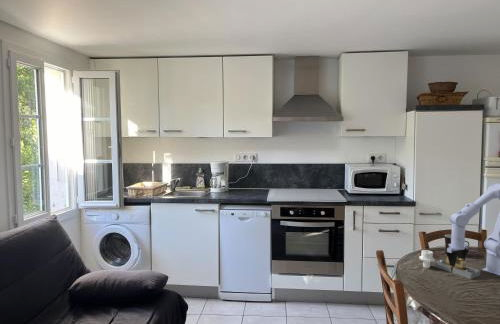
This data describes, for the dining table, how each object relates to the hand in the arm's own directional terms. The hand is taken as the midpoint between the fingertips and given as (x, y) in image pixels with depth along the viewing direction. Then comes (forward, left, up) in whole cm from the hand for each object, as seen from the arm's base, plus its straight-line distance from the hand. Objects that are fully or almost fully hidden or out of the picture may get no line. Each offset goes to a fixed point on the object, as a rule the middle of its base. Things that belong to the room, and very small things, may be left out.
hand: (456, 264), depth 174 cm
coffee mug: (+14, -24, -4) cm, 28 cm away
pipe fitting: (+11, +8, -4) cm, 14 cm away
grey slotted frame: (0, 0, -3) cm, 3 cm away
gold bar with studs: (0, 0, -3) cm, 4 cm away
